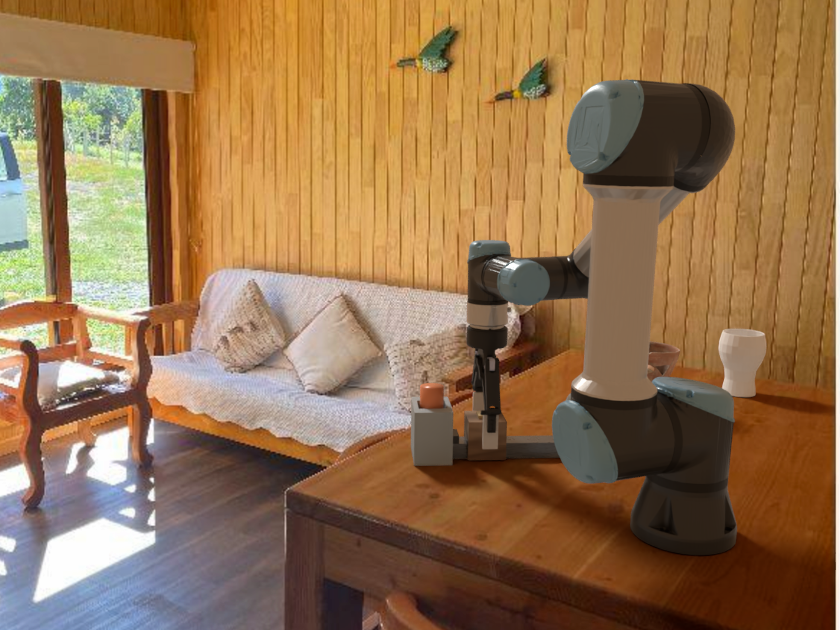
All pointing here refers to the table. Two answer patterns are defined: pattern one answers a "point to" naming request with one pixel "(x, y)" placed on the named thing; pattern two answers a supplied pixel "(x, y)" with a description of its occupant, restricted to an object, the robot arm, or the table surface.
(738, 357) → the cup
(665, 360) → the ceramic jug
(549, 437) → the rail
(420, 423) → the grey button housing
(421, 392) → the button
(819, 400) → the table surface
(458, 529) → the table surface
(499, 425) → the block
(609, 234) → the robot arm
